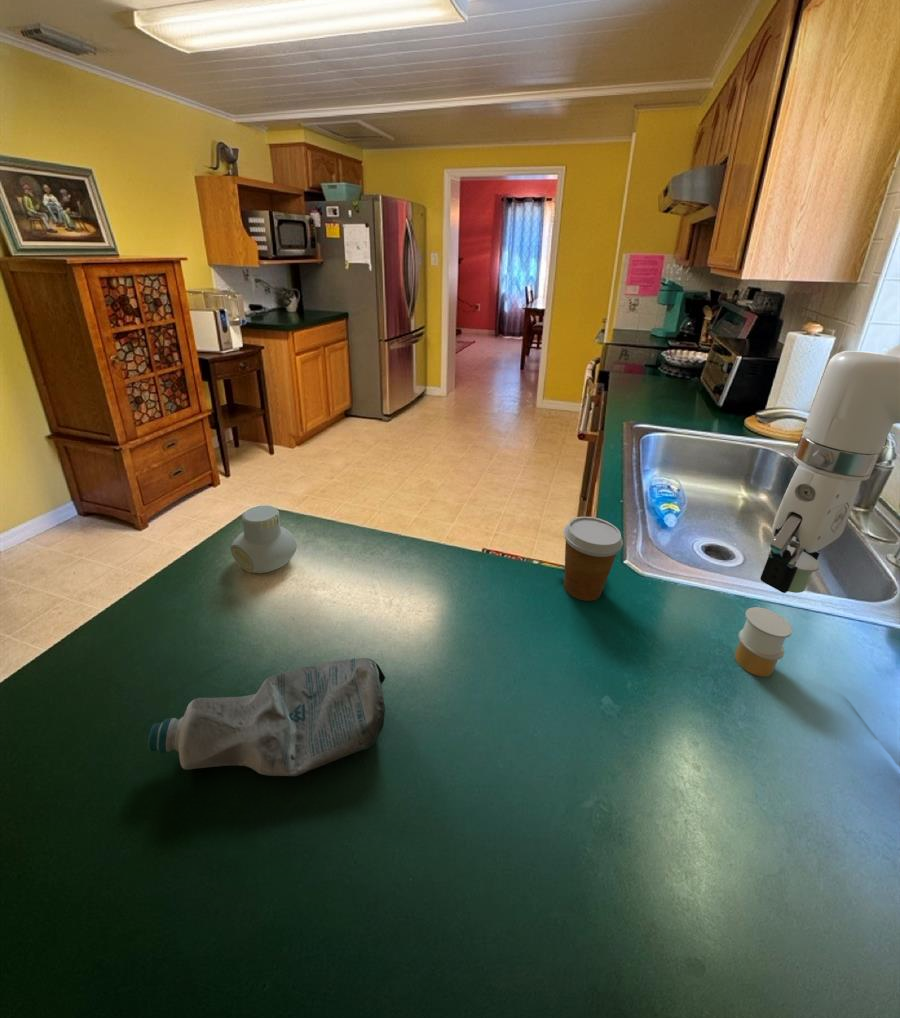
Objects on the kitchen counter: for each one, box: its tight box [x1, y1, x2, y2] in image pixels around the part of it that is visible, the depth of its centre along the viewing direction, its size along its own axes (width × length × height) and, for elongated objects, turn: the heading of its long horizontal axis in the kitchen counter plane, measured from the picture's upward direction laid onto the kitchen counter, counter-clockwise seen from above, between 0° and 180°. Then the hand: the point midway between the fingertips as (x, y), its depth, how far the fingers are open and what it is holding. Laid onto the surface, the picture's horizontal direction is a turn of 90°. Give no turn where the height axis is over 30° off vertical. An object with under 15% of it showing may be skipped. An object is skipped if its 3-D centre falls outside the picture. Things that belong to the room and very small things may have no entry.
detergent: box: [147, 657, 386, 777], centre depth 53 cm, size 13×7×25 cm
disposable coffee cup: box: [563, 516, 624, 602], centre depth 80 cm, size 10×10×12 cm
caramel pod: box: [734, 629, 785, 678], centre depth 68 cm, size 6×6×4 cm
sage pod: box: [767, 545, 820, 594], centre depth 63 cm, size 6×6×4 cm
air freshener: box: [230, 504, 298, 574], centre depth 82 cm, size 11×8×10 cm
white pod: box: [741, 606, 793, 656], centre depth 67 cm, size 6×6×4 cm
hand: (785, 577), depth 63 cm, fingers closed on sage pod, 5 cm apart
